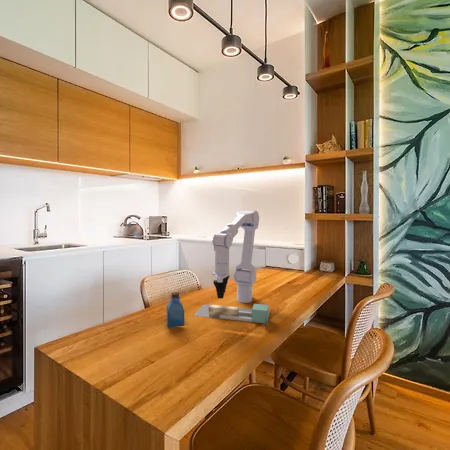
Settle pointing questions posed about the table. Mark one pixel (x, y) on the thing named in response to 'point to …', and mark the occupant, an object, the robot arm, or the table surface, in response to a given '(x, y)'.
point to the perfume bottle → (175, 311)
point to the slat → (223, 310)
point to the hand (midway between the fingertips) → (221, 295)
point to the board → (241, 314)
